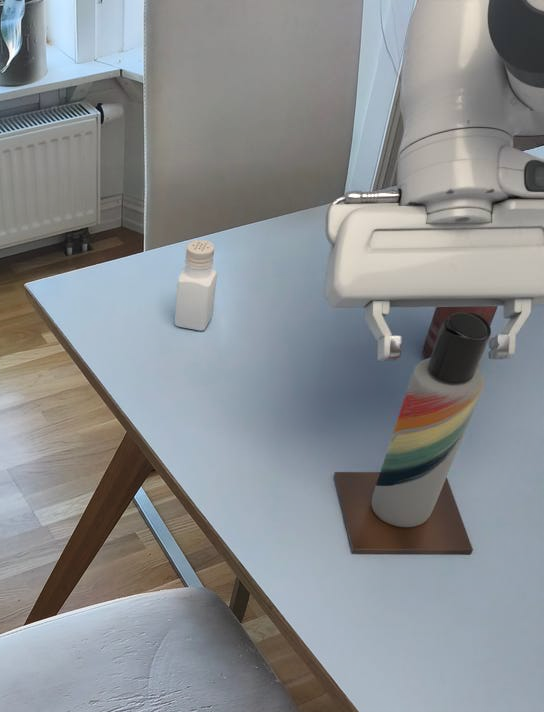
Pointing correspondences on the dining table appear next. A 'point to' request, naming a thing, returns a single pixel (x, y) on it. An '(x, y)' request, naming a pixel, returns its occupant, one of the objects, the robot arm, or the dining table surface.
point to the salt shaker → (196, 287)
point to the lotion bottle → (432, 422)
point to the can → (445, 313)
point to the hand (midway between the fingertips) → (444, 358)
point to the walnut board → (382, 538)
